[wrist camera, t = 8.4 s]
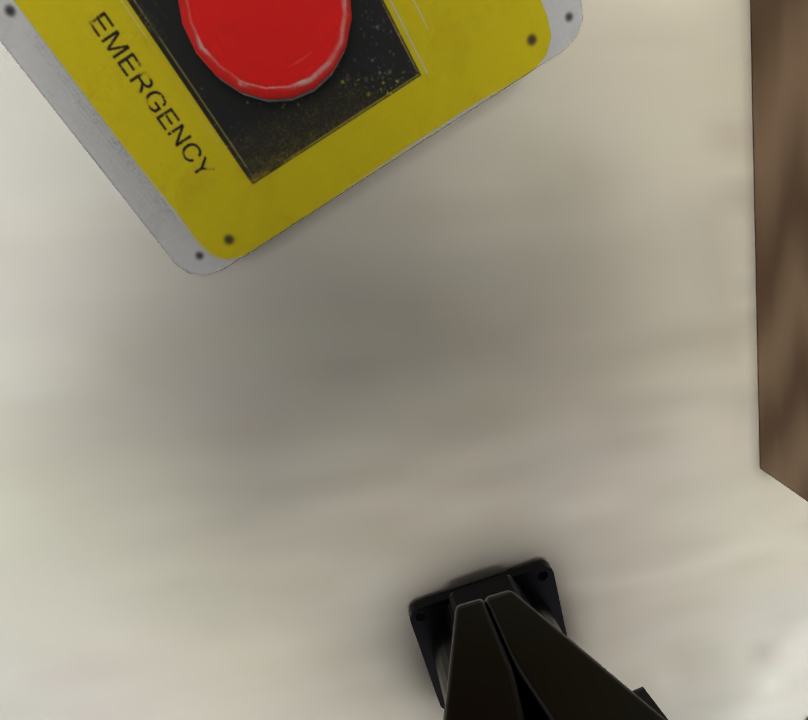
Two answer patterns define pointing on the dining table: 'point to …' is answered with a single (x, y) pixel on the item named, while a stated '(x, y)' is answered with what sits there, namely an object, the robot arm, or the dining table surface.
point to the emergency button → (265, 97)
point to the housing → (782, 235)
